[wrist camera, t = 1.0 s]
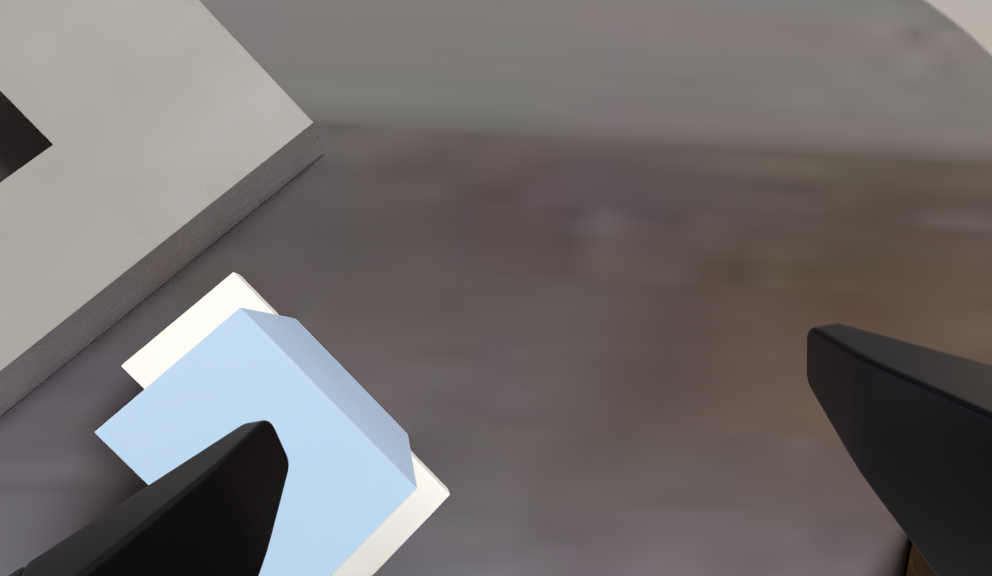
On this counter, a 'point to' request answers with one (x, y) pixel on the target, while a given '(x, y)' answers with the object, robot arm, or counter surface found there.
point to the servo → (278, 431)
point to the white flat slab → (125, 164)
